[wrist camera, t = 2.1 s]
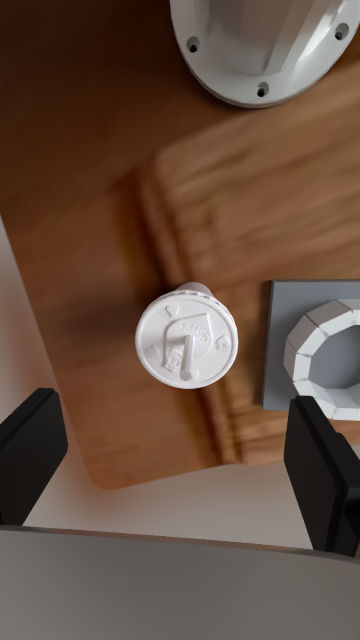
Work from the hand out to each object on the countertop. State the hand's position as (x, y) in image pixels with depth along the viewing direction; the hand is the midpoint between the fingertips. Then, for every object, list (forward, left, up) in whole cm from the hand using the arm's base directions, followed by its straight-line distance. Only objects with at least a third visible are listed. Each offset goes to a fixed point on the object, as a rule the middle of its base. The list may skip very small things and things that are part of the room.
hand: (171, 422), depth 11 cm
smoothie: (-1, 0, -16) cm, 16 cm away
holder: (+4, +14, -16) cm, 21 cm away
